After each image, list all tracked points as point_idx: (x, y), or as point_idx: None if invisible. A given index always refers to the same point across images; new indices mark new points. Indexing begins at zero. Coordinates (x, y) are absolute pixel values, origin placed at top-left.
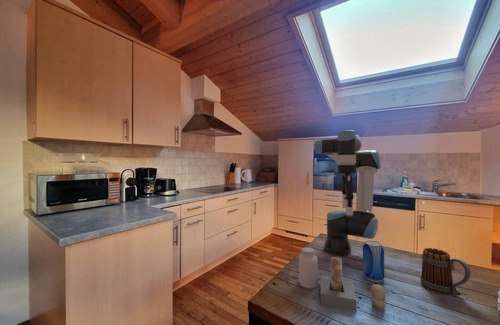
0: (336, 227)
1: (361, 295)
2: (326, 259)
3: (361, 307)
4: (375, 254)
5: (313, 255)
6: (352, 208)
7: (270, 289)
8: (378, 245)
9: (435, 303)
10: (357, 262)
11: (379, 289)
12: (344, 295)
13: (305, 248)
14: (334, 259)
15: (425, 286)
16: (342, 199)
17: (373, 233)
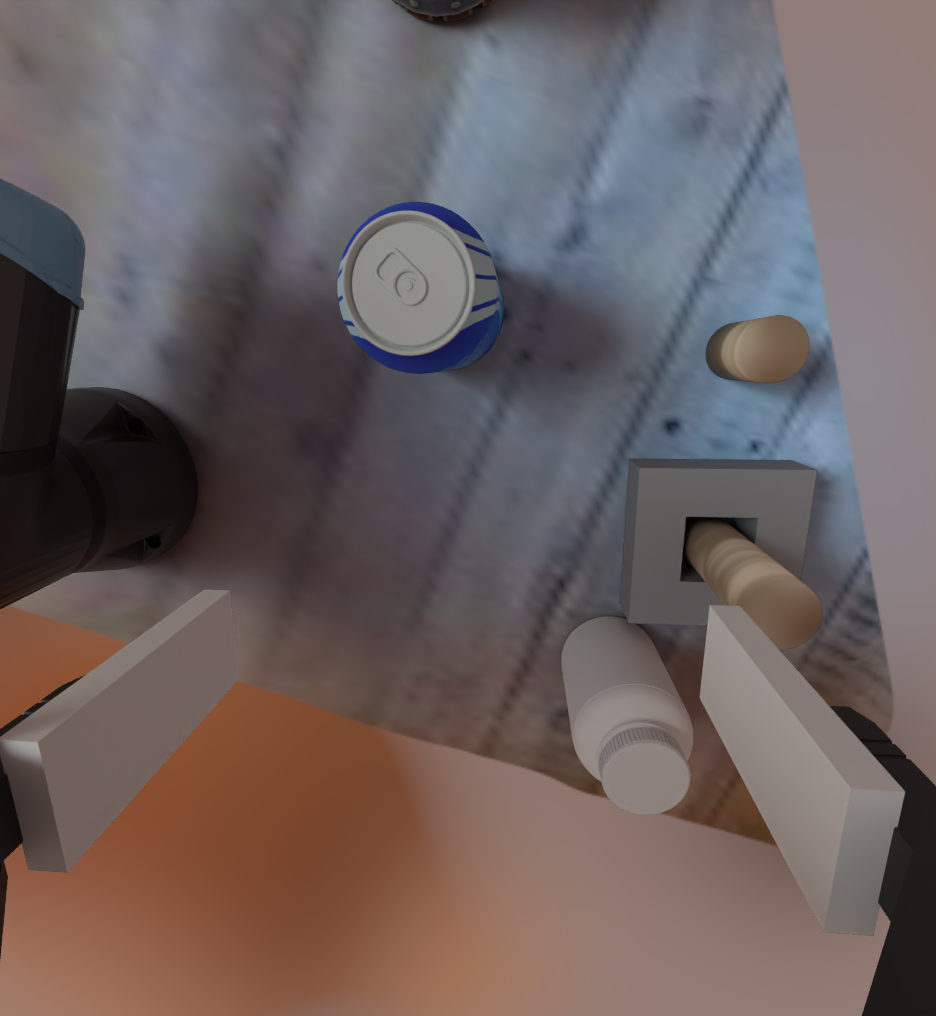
0: (31, 542)
1: (651, 414)
2: (295, 556)
3: (755, 432)
4: (497, 292)
5: (664, 729)
6: (788, 667)
7: (701, 808)
8: (441, 245)
9: (634, 26)
10: (265, 371)
11: (795, 347)
12: (786, 520)
13: (631, 795)
14: (792, 627)
15: (473, 9)
16: (147, 779)
17: (56, 208)
